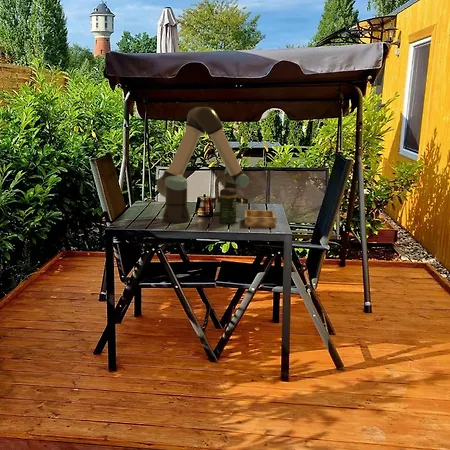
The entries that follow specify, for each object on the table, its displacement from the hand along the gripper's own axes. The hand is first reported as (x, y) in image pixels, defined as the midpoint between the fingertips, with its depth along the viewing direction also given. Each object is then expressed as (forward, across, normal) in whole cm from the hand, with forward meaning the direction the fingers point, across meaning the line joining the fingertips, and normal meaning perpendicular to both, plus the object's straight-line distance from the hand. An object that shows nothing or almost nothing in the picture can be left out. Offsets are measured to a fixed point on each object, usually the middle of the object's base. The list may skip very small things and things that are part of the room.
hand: (229, 203), depth 249 cm
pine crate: (0, -16, -10) cm, 19 cm away
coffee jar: (-1, +1, -11) cm, 11 cm away
